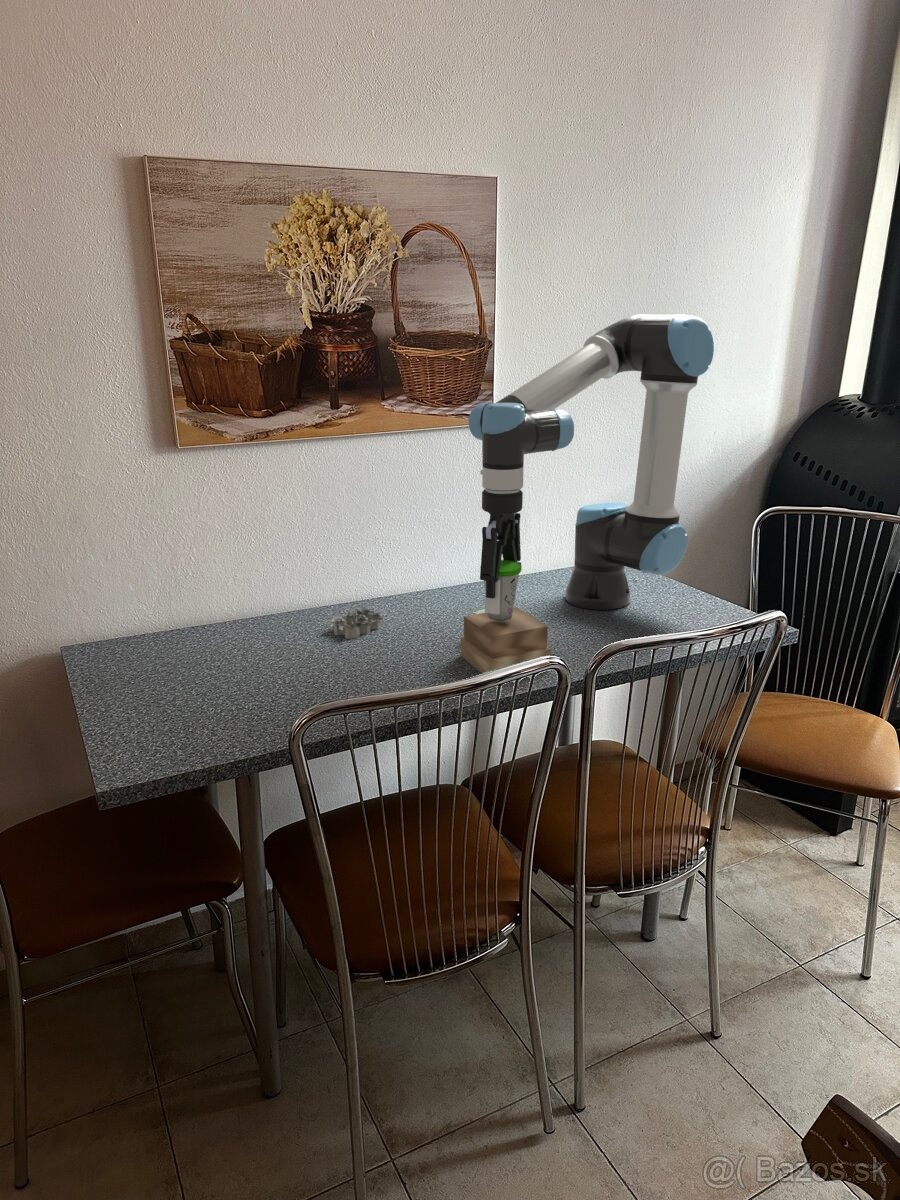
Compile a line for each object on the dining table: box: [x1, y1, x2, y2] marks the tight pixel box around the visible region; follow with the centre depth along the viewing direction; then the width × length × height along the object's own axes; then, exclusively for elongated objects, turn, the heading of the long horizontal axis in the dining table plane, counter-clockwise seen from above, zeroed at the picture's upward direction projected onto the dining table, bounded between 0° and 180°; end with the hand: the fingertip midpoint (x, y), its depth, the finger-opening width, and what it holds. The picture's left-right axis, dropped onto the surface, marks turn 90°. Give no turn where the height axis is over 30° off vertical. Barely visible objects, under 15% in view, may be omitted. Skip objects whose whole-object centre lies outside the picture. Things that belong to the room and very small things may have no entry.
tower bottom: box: [460, 636, 552, 674], centre depth 170 cm, size 13×13×4 cm
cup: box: [479, 540, 523, 621], centre depth 164 cm, size 8×8×15 cm
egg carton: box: [329, 606, 385, 640], centre depth 187 cm, size 11×8×4 cm
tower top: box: [463, 606, 549, 659], centre depth 168 cm, size 12×12×4 cm
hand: (500, 605), depth 166 cm, fingers closed on cup, 8 cm apart
